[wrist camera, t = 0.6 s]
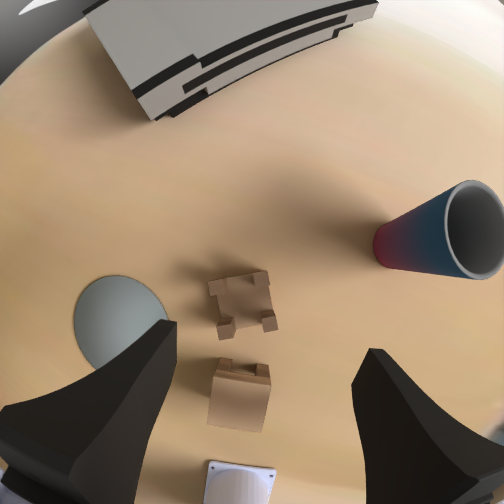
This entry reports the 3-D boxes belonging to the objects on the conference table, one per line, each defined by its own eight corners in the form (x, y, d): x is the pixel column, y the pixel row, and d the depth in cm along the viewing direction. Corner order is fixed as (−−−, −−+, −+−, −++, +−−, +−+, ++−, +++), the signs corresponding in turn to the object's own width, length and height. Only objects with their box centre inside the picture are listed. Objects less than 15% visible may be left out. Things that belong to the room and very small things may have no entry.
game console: (365, 33, 33) (381, -4, 25) (160, 134, 33) (137, 99, 24) (279, -34, 34) (281, -68, 26) (103, 44, 34) (82, 11, 25)
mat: (165, 392, 31) (164, 394, 30) (74, 364, 31) (72, 365, 30) (178, 287, 31) (177, 287, 31) (81, 266, 31) (79, 266, 31)
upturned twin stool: (273, 318, 31) (278, 329, 25) (225, 327, 31) (219, 340, 25) (264, 270, 31) (267, 270, 25) (216, 279, 31) (207, 281, 25)
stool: (260, 406, 30) (261, 433, 24) (214, 399, 30) (206, 424, 24) (268, 365, 31) (271, 385, 25) (220, 357, 31) (213, 376, 25)
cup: (401, 288, 31) (491, 298, 16) (354, 255, 31) (429, 243, 16) (427, 236, 31) (518, 217, 16) (382, 203, 32) (461, 160, 17)
